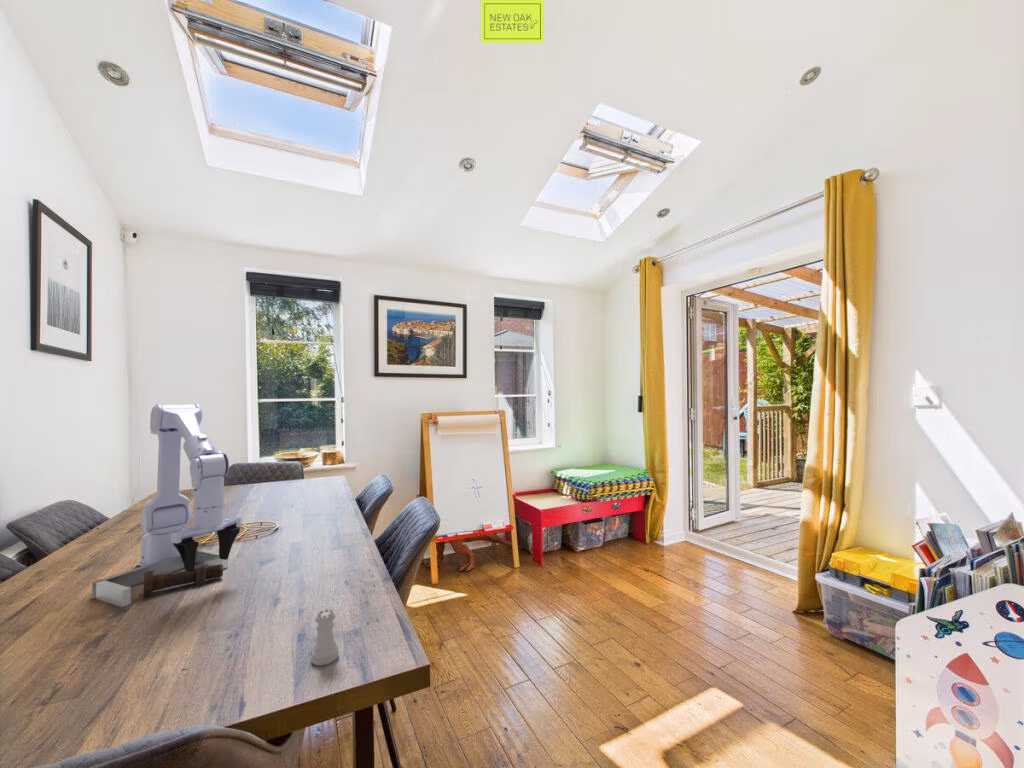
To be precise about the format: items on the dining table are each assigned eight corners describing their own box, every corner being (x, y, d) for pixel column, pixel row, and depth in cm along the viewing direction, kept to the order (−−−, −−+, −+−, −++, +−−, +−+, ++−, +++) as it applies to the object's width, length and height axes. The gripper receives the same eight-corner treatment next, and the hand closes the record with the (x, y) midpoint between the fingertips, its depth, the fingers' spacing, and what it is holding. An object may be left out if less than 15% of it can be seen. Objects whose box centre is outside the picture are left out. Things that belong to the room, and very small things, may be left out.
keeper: (92, 597, 96) (92, 582, 96) (199, 561, 117) (199, 548, 117) (122, 607, 91) (122, 590, 92) (227, 567, 113) (228, 554, 113)
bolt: (222, 586, 106) (142, 603, 96) (220, 570, 109) (143, 585, 100) (224, 569, 104) (143, 584, 94) (223, 554, 107) (144, 567, 98)
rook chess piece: (316, 651, 76) (317, 606, 76) (342, 650, 76) (342, 605, 76) (306, 667, 71) (307, 619, 72) (333, 666, 72) (334, 618, 72)
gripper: (186, 515, 91) (184, 579, 91) (249, 500, 104) (248, 556, 104) (165, 512, 94) (164, 574, 93) (230, 497, 107) (229, 552, 107)
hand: (207, 564), depth 99 cm, fingers open, 7 cm apart
